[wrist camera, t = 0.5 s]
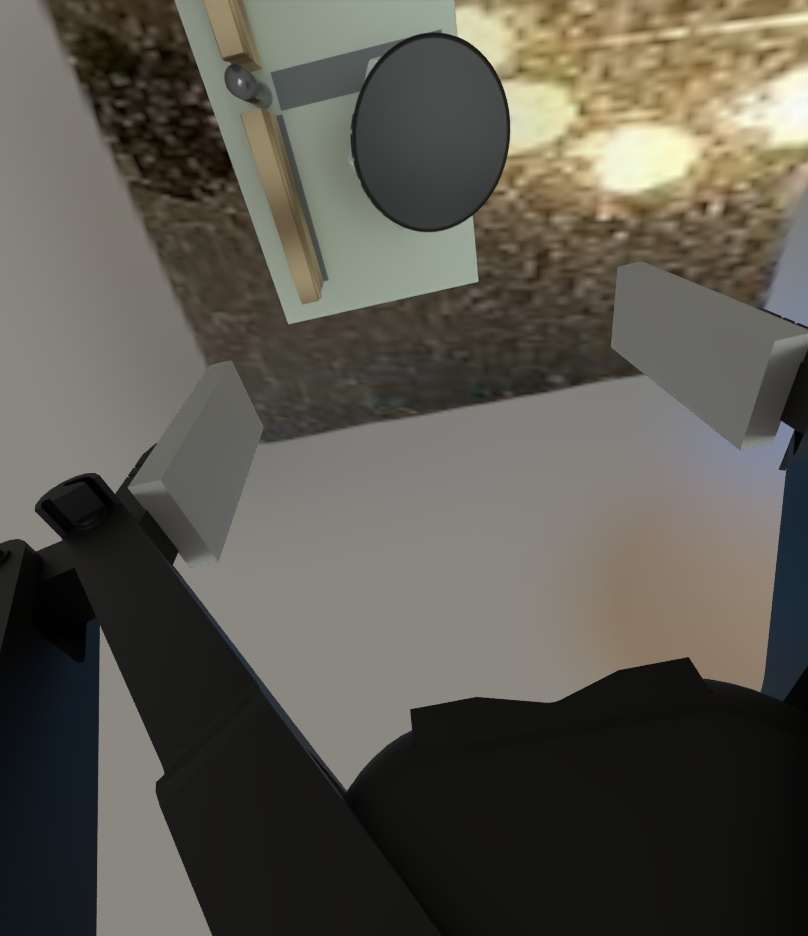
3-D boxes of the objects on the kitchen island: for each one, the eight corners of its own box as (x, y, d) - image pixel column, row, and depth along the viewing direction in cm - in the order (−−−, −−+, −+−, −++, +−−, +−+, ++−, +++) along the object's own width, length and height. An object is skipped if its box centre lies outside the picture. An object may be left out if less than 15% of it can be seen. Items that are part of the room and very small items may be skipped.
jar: (324, 132, 31) (309, 126, 21) (411, 27, 28) (439, -35, 18) (407, 237, 35) (425, 272, 26) (489, 155, 32) (545, 160, 23)
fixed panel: (257, 120, 30) (237, 113, 25) (278, 114, 30) (262, 107, 25) (308, 285, 36) (300, 305, 32) (325, 281, 36) (320, 300, 32)
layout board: (88, -250, 22) (84, -256, 21) (423, -348, 21) (424, -356, 21) (288, 323, 39) (288, 324, 38) (477, 280, 38) (478, 281, 38)
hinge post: (248, 85, 29) (219, 66, 23) (268, 80, 29) (245, 60, 23) (256, 111, 30) (230, 100, 24) (276, 106, 30) (255, 94, 24)
